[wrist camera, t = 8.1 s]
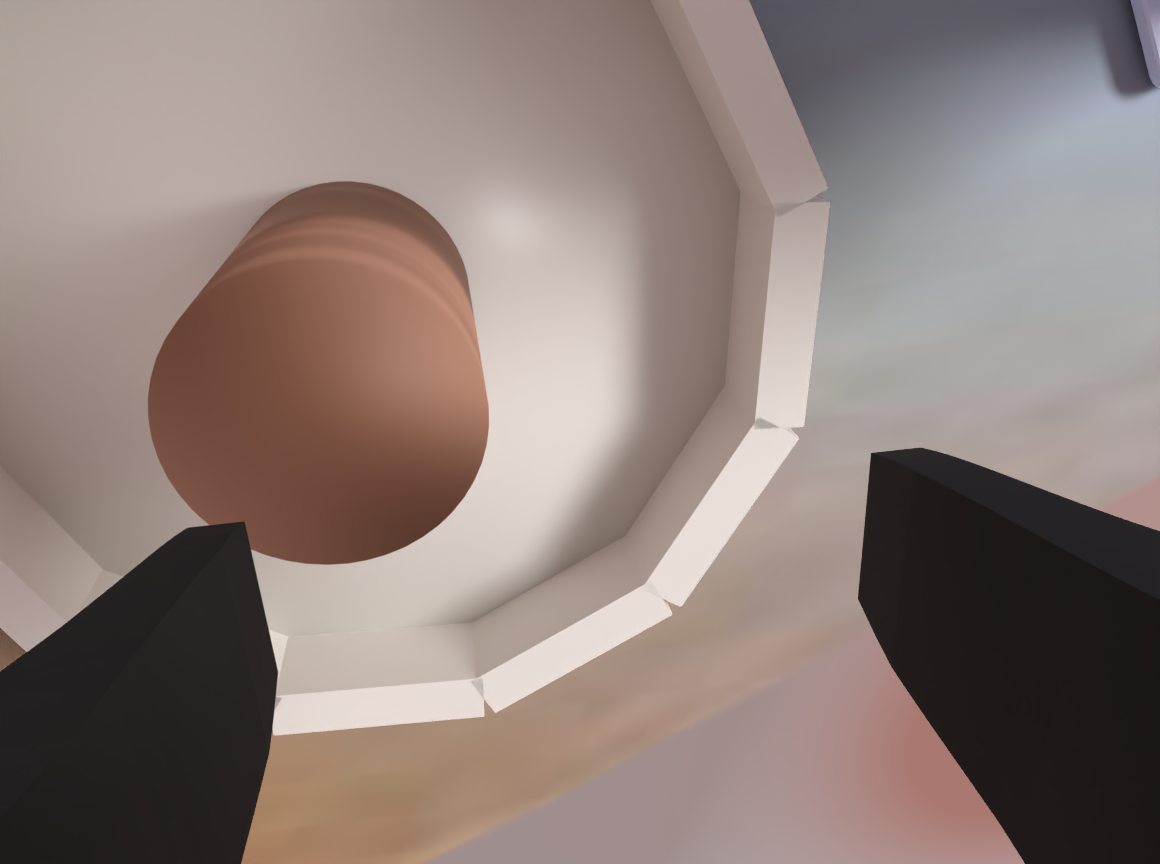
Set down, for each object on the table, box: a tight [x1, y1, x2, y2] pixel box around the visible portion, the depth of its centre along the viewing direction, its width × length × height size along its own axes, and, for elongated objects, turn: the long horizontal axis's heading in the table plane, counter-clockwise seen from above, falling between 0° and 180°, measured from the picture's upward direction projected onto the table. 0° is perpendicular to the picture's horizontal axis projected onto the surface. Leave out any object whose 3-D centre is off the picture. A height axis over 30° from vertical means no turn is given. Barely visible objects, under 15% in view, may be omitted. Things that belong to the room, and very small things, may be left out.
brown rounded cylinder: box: [148, 181, 489, 565], centre depth 15 cm, size 4×4×6 cm
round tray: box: [0, 0, 831, 736], centre depth 17 cm, size 17×17×3 cm
